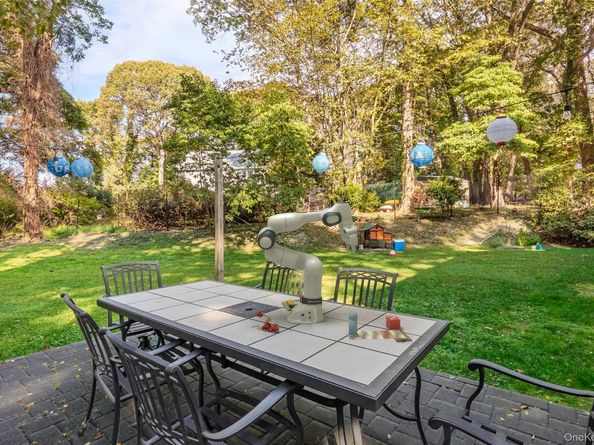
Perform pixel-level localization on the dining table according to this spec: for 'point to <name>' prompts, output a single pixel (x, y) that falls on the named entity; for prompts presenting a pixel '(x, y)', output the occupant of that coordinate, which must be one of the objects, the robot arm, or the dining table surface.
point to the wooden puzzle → (290, 304)
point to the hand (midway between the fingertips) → (351, 249)
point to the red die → (392, 322)
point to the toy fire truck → (268, 324)
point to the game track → (388, 334)
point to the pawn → (353, 324)
